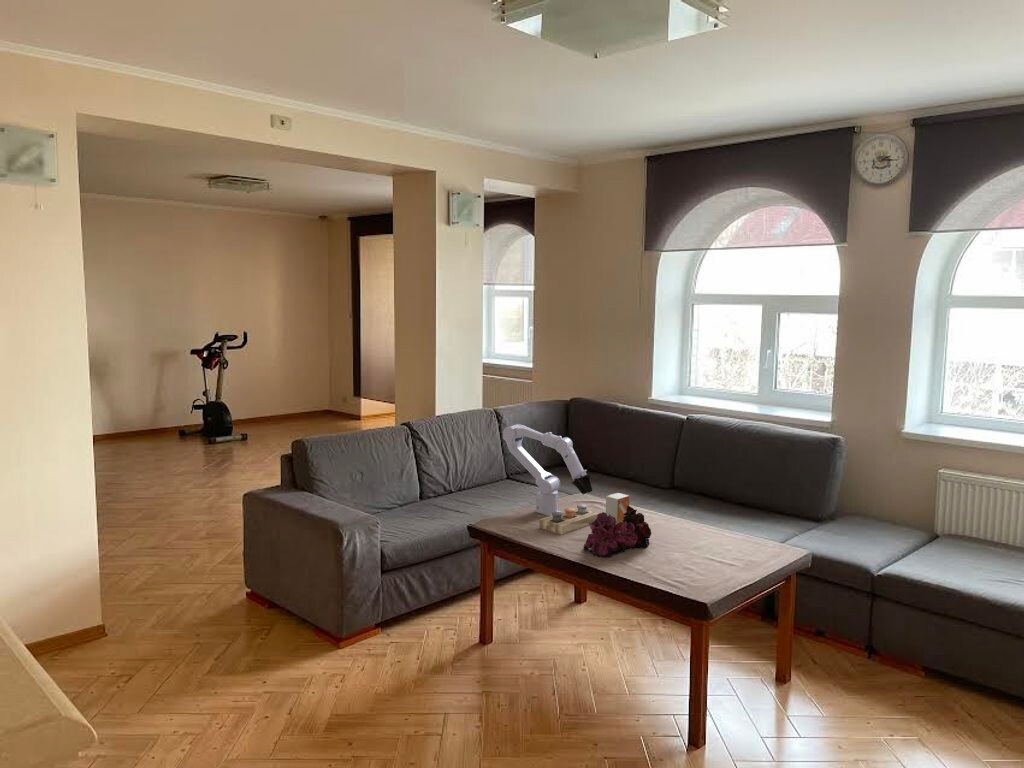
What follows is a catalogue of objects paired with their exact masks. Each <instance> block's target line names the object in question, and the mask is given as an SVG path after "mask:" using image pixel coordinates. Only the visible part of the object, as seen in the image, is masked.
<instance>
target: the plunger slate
mask: <svg viewBox="0 0 1024 768" xmlns="http://www.w3.org/2000/svg"><path fill="white" fill-rule="evenodd" d="M576 508H578V514H581V515H584V514H586V510H587V508H588V505H587V504H584V503H579V504H577V505H576Z"/></svg>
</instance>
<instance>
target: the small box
mask: <svg viewBox="0 0 1024 768" xmlns="http://www.w3.org/2000/svg"><path fill="white" fill-rule="evenodd" d="M627 506H630V495H629V494H624V493H619V492H615V493H611V494H609V495H606V496H605V513H606V514H607V516H609V515H610V516H612V517H615V518H616V524H618V523H619V522H623V520H624V518H623V517H624V516H626V515H623V514H624V513H626V512H627Z"/></svg>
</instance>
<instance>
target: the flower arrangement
mask: <svg viewBox="0 0 1024 768" xmlns="http://www.w3.org/2000/svg"><path fill="white" fill-rule="evenodd" d="M623 515H626V516H624V517H623V518H624V520H623V522H619V523H618V524H616V518H615V517H612V516H610V515H609V516H607V514H606V512H604V511H601V512H600V513H599V514H598V515H597V519H596V520H595V521H594V522H593V523H589V525H588V526H589V527H590V529H591V533H589V534H588V535H587V537H586V538H587V539H586V541H585V543H584V545H583V550H584V551H587V550H589V552H590V553H592V554H593V556H594V557H597V558H601V559H609V558H612V557H613V555H618V554H620V553H625V551H627V550H638V549H641V550H642V549H647V548H649V546H650V544H651V543H650V538H651V536H652V529H651V527H650V525H649V523H648V522H647V521H645V515H644V514H643V513H641V512H637V509H634V508H633V507H632V506H630V505H629V506H627V512H626V513H624V514H623Z"/></svg>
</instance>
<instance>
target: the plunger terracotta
mask: <svg viewBox="0 0 1024 768" xmlns="http://www.w3.org/2000/svg"><path fill="white" fill-rule="evenodd" d="M564 512H565V518H568V519H572V518H574V512H575V509H574V507H566V508H564Z"/></svg>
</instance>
